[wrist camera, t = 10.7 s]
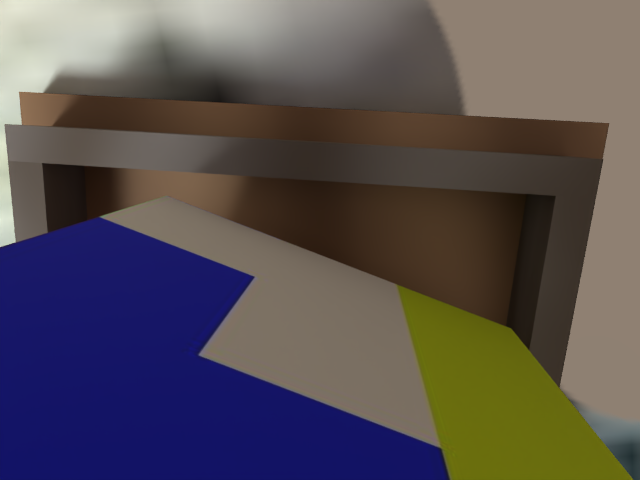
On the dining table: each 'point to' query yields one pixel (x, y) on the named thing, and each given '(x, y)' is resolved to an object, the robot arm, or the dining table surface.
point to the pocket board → (340, 191)
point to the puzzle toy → (258, 366)
